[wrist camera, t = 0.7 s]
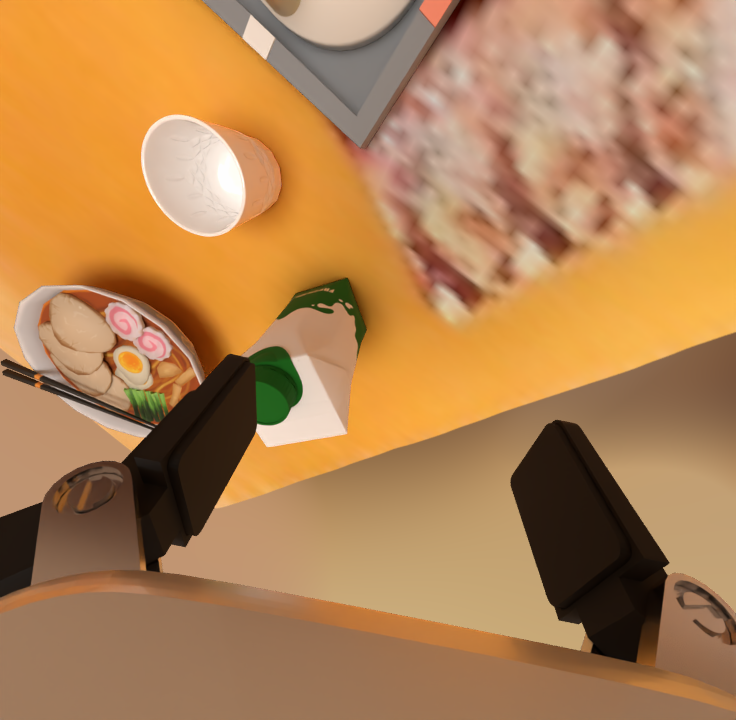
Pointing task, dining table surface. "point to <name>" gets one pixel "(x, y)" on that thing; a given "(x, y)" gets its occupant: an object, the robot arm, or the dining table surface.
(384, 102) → the dial housing
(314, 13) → the dial
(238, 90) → the dining table surface
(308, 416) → the milk carton
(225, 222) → the white cup
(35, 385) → the ramen bowl
